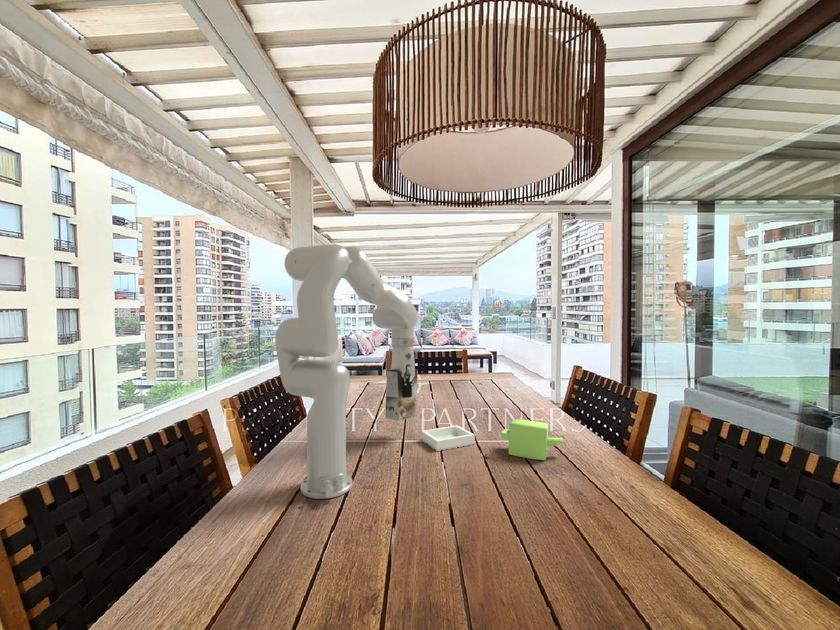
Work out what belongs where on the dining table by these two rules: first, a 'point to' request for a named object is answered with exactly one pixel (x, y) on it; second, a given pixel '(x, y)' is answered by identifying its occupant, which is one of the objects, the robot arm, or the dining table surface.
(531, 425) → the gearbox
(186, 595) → the dining table surface
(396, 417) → the coffee box
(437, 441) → the locating tray
